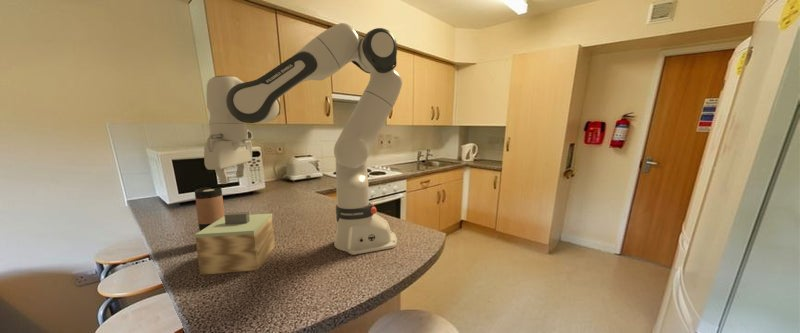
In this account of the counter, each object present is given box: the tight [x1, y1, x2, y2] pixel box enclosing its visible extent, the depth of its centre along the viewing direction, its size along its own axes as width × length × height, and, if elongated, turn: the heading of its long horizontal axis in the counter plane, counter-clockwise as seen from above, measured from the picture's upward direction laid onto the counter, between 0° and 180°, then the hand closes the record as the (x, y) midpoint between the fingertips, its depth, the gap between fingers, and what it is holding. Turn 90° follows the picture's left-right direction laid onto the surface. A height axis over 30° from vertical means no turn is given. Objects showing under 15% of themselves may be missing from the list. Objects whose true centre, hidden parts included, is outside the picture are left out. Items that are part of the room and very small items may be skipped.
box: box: [194, 216, 276, 276], centre depth 77 cm, size 15×15×11 cm
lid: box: [194, 211, 273, 239], centre depth 77 cm, size 15×15×5 cm
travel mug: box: [194, 186, 226, 232], centre depth 88 cm, size 8×8×20 cm
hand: (233, 180), depth 75 cm, fingers open, 8 cm apart
